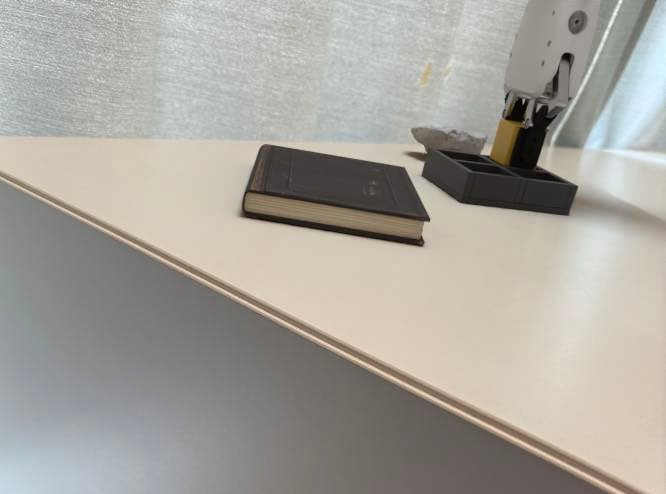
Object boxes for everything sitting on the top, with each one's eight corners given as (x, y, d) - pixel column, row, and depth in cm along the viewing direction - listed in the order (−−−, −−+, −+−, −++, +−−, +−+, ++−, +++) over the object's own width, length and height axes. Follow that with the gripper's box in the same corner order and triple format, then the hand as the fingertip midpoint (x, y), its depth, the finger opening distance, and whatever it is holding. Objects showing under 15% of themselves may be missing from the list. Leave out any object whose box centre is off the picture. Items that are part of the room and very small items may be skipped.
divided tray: (519, 187, 98) (527, 160, 97) (568, 215, 88) (578, 186, 86) (421, 174, 96) (427, 147, 94) (460, 202, 85) (469, 172, 83)
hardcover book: (400, 189, 86) (405, 167, 85) (423, 245, 68) (430, 218, 66) (256, 165, 86) (259, 142, 84) (240, 215, 67) (243, 187, 66)
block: (520, 162, 95) (532, 123, 93) (535, 169, 92) (548, 130, 90) (488, 157, 94) (500, 119, 92) (503, 165, 91) (515, 125, 89)
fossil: (402, 125, 108) (471, 102, 108) (409, 175, 111) (476, 153, 111) (423, 130, 101) (497, 106, 100) (430, 183, 104) (502, 160, 104)
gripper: (644, -16, 77) (574, 183, 87) (564, -22, 90) (511, 152, 101) (576, -29, 75) (513, 175, 86) (505, -33, 88) (458, 144, 99)
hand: (513, 160), depth 93 cm, fingers closed on block, 4 cm apart
